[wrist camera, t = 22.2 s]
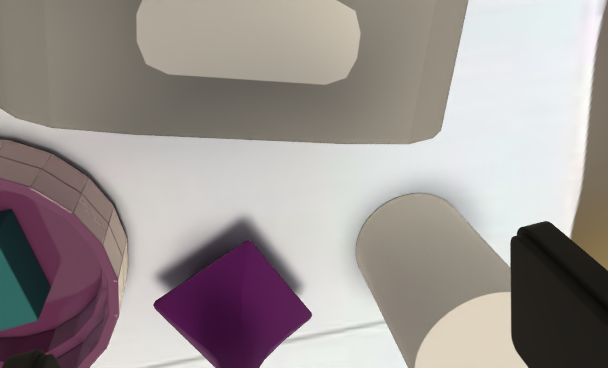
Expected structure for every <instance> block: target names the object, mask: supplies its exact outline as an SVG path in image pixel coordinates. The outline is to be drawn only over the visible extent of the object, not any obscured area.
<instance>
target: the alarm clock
mask: <svg viewBox="0 0 608 368" xmlns="http://www.w3.org/2000/svg"><path fill="white" fill-rule="evenodd" d="M467 4H468V0H0V108H1V109H3V110H4V111H6V112H7V113H9V114H10V115H12V116H14V117H15V118H18V119H22V120H25V121H29V122H33V123H36V124H40V125H44V126H47V127H51V128H61V129H73V130H85V131H97V132H109V133H122V134H134V135H155V136H178V137H200V138H222V139H245V140H267V141H289V142H312V143H334V144H411V143H415V142H419V141H423V140H427V139H431V138H433V137H434V136H436V135H437V134H438V133H439V132H440V131H441V128H442V123H443V118H444V113H445V109H446V104H447V99H448V95H449V90H450V85H451V80H452V76H453V71H454V66H455V61H456V57H457V52H458V47H459V42H460V38H461V33H462V28H463V23H464V19H465V14H466V9H467Z"/></svg>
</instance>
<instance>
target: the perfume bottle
mask: <svg viewBox="0 0 608 368" xmlns="http://www.w3.org/2000/svg"><path fill="white" fill-rule="evenodd" d="M153 305H154V308H155V309H156V310H157V311H158V312H159V313H160V314H161V315H162V316H163V317H164V318H165V319H166V320H167V321H168V322H169V323H170V324H171V325H172V326H173V327H174V328H175V329H176V330H177V331H178V332H179V333H180V334H181V335H182V336H183V337H184V338H185V339H187V340H188V341H189V342H190V343H191V344H192V345H193V346H194V347H195V348H196V349H197V350H198V351H199V352H200V353H201V354H202V355H203V356H204V357H205V358H206V359H207V360H208V361H209V362H210V363H211V364H212V365H213V366H214V367H215V368H259V367H260V366H261V364H262V363H263V361H264V360H265V359H266V358H267V357H268V356H269V355H270V354H271V353H272V352H273V351H274V350H275V349H276V348H277V347H278V346H279V345H280V344H281V343H282V342H283V341H284V340H285V339H286V338H288V337H289V336H290V335H291V334H292V333H294V332H295V331H296V330H297V329H298V328H300V327H301V326H302V325H303V324H304V323H306V322H307V321H308V320H309V319H310V318H311V316H312V313H311V312H310V311H309V309H308V308H307V307H306V306H305V305H304V303H303V302H302V301H301V300H300V299H299V297H298V296H297V295H296V294H295V293H294V292H293V290H292V289H291V288H290V287H289V286H288V284H287V283H286V282H285V281H284V280H283V278H282V277H281V276H280V275H279V274H278V272H277V271H276V270H275V269H274V268H273V267H272V265H271V264H270V263H269V262H268V261H267V259H266V258H265V257H264V256H263V255H262V253H261V252H260V251H259V250H258V249H257V248H256V246H255V245H254V244H253V243H252V242H251V241H250V240H246V241H244V242H243V243H241V244H240V245H238V246H237V247H235V248H234V249H232V250H231V251H229V252H228V253H226V254H225V255H223V256H222V257H220V258H219V259H217V260H216V261H214V262H213V263H211V264H210V265H208V266H207V267H205V268H204V269H203V270H201V271H200V272H198V273H197V274H195V275H194V276H192V277H191V278H189V279H188V280H186V281H185V282H183V283H182V284H180V285H179V286H177V287H176V288H174V289H173V290H171V291H170V292H168V293H167V294H165V295H164V296H162V297H161V298H159V299H158V300H156V301H155V303H154V304H153Z"/></svg>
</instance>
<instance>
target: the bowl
mask: <svg viewBox="0 0 608 368" xmlns="http://www.w3.org/2000/svg"><path fill="white" fill-rule="evenodd" d="M9 209H12V211H13V213H14V215H15V217H16V219H17V221H18V223H19V225H20V227H21V229H22V231H23V233H24V235H25V237H26V239H27V241H28V243H29V245H30V247H31V249H32V251H33V253H34V255H35V257H36V259H37V261H38V263H39V265H40V267H41V269H42V271H43V273H44V275H45V277H46V279H47V281H48V283H49V285H50V287H51V289H50V292H49V294H48V297H47V299H46V302H45V304H44V307H43V309H42V312H41V314H40V317H39V319H38V321H35V322H31V323H28V324H24V325H21V326H17V327H14V328H10V329H6V330H3V331H0V368H2V366H3V364H4V362H5V360H6V358H8V357H9V356H13V355H17V354H21V353H25V352H29V351H33V350H37V349H39V350H42V351H43V352H44V353H45V355H48V354H53V355H54V356H55V358H56V359H57V361H58V364H59V366H60V368H89V367H90V366H91V365H92V364H93V363H94V362H95V361H96V360H97V358H98V357H99V356H100V355H101V354H102V353H103V352H104V350H105V349H106V348H107V346H108V344H109V341H110V339H111V336H112V333H113V331H114V328H115V325H116V323H117V320H118V317H119V313H120V308H121V303H122V298H123V292H124V287H125V282H126V277H127V271H128V258H127V237H126V235H125V232H124V230H123V227H122V225H121V223H120V220H119V218H118V215H117V213H116V210H115V208H114V206H113V205H112V203H111V202H110V201H109V200H108V199H107V198H106V197H105V195H104V194H103V193H102V192H101V191H100V190H99V188H98V187H97V186H96V185H95V184H94V183H93V182H92V180H91V179H90V178H89V177H88V176H87V175H85V174H83V173H82V172H80V171H79V170H77V169H76V168H74V167H72V166H71V165H69V164H68V163H66V162H65V161H63V160H61V159H60V158H58V157H57V156H55V155H54V154H51V153H49V152H46V151H42V150H39V149H36V148H33V147H29V146H26V145H23V144H20V143H17V142H13V141H10V140H9V141H8V140H0V212H2V211H6V210H9Z"/></svg>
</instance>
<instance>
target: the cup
mask: <svg viewBox="0 0 608 368" xmlns="http://www.w3.org/2000/svg"><path fill="white" fill-rule="evenodd" d="M356 258H357V263H358V266H359V268H360V270H361V272H362V274H363V276H364V278H365V280H366V282H367V284H368V287H369V289H370V291H371V293H372V295H373V297H374V299H375V301H376V303H377V305H378V307H379V309H380V311H381V313H382V315H383V317H384V319H385V321H386V323H387V325H388V327H389V329H390V331H391V333H392V335H393V337H394V340H395V342H396V344H397V346H398V348H399V350H400V352H401V354H402V356H403V358H404V360H405V362H406V364H407V366H408V368H528V367H527V365H526V364H525V363H524V361H523V360H522V359H521V357H520V356H519V355H518V353H517V352H516V350H515V348H514V345H513V342H512V338H511V268H510V267H509V266H508V265H507V264H506V263H505V262H504V260H503V259H502V258H501V257H500V256H499V255H498V254H497V253H496V252H495V251H494V250H493V249H492V248H491V247H490V246H489V244H488V243H487V242H486V241H485V240H484V239H483V238H482V237H481V236H480V235H479V234H478V233H477V232H476V231H475V230H474V228H473V227H472V226H471V225H470V224H469V223H468V222H467V221H466V220H465V219H464V218H463V217H462V216H461V215H460V214H459V212H458V211H457V210H456V209H455V208H454V207H453V206H452V205H451V204H450V203H448V202H447V201H445V200H444V199H442V198H440V197H437V196H434V195H430V194H423V193H415V194H408V195H403V196H400V197H397V198H395V199H393V200H390V201H389V202H387V203H385V204H384V205H382V206H381V207H379V208H378V209H377V210H376V211H375V212H374V213H373V214H372V215H371V216H370V217H369V218H368V219H367V221H366V222H365V224H364V225H363V227H362V229H361V231H360V233H359V236H358V239H357V244H356Z"/></svg>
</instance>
